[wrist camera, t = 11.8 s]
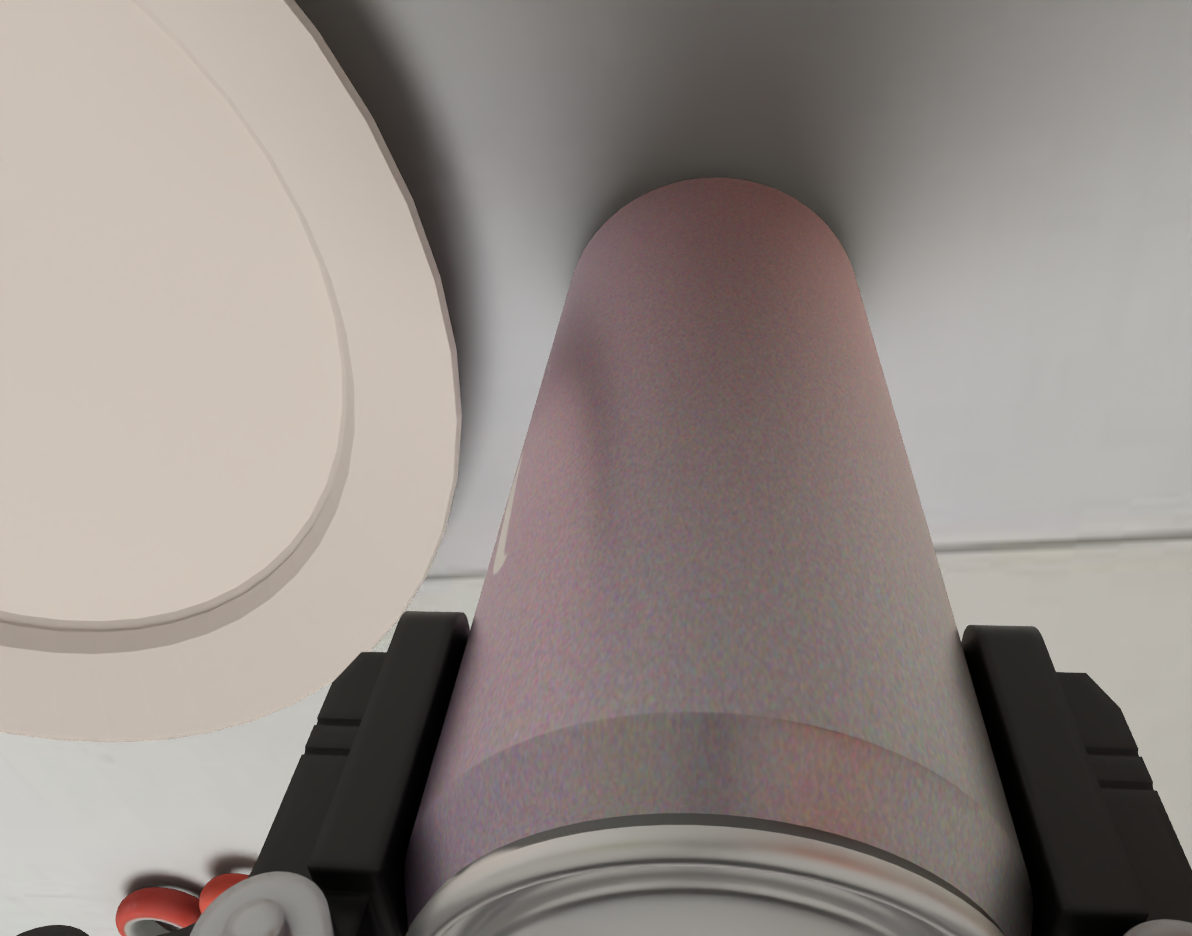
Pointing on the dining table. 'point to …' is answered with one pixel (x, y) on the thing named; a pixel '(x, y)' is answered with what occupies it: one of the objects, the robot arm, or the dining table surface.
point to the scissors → (168, 906)
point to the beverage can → (714, 623)
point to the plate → (204, 369)
